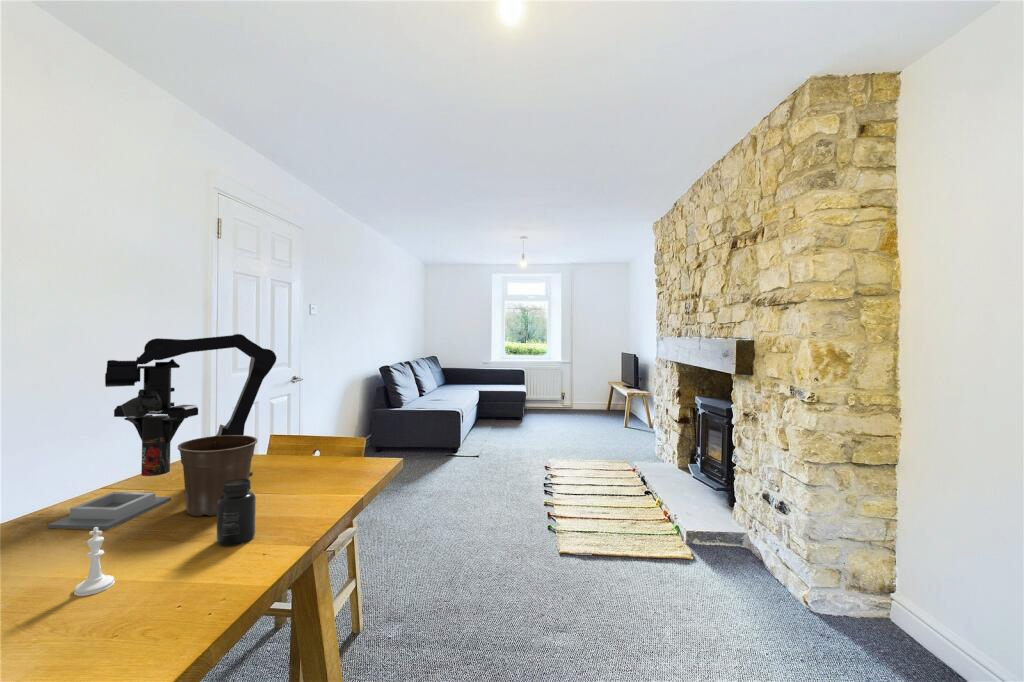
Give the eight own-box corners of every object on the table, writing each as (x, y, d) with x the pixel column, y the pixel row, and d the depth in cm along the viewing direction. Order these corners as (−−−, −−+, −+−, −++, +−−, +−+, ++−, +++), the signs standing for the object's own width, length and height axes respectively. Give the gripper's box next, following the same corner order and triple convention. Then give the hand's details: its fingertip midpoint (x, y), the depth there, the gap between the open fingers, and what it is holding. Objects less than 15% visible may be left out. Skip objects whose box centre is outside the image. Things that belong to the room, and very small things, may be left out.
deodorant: (175, 470, 119) (176, 415, 119) (155, 476, 113) (156, 419, 113) (156, 468, 120) (157, 414, 120) (135, 475, 114) (136, 418, 114)
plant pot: (270, 502, 110) (271, 439, 110) (202, 526, 95) (204, 454, 95) (230, 491, 117) (231, 432, 117) (161, 512, 102) (162, 444, 102)
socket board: (171, 500, 110) (171, 488, 110) (107, 529, 93) (107, 515, 93) (120, 498, 110) (120, 487, 110) (48, 528, 93) (48, 514, 93)
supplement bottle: (262, 535, 92) (264, 479, 92) (232, 549, 86) (234, 489, 86) (239, 529, 94) (240, 475, 94) (208, 543, 88) (209, 484, 88)
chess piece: (91, 579, 74) (93, 521, 74) (122, 578, 75) (123, 521, 75) (64, 596, 70) (65, 534, 69) (97, 595, 70) (99, 534, 70)
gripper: (93, 387, 108) (92, 449, 109) (167, 389, 108) (166, 451, 108) (133, 382, 120) (132, 439, 120) (200, 384, 119) (199, 440, 119)
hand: (156, 442), depth 116 cm, fingers closed on deodorant, 6 cm apart
